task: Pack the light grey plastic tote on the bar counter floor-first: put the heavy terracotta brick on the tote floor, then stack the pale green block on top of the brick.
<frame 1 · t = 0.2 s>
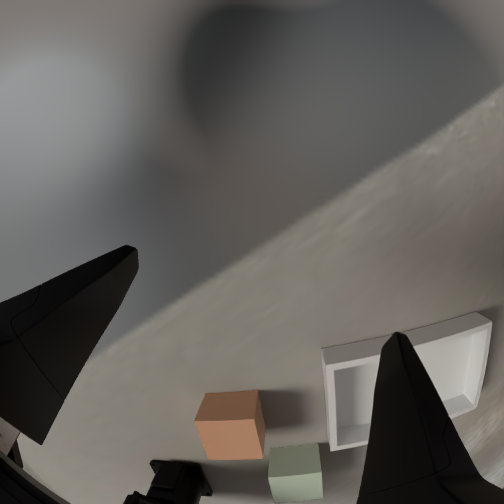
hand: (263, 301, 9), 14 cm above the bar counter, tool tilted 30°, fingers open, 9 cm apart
tote: (405, 377, 24), on the bar counter
brick: (236, 411, 26), on the bar counter
pale green block: (295, 459, 27), on the bar counter
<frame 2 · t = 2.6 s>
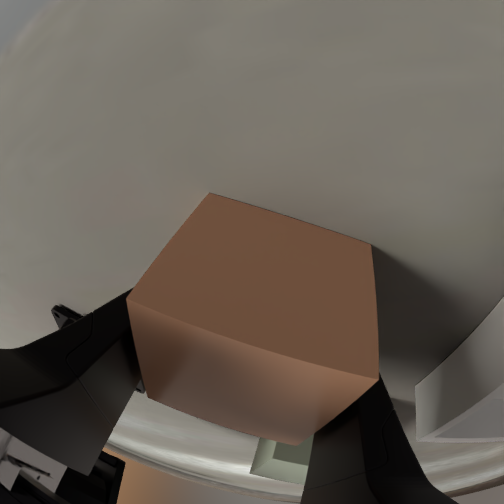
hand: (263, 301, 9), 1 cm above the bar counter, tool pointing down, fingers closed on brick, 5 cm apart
brick: (270, 278, 10), on the bar counter, touching gripper
pale green block: (321, 403, 15), on the bar counter
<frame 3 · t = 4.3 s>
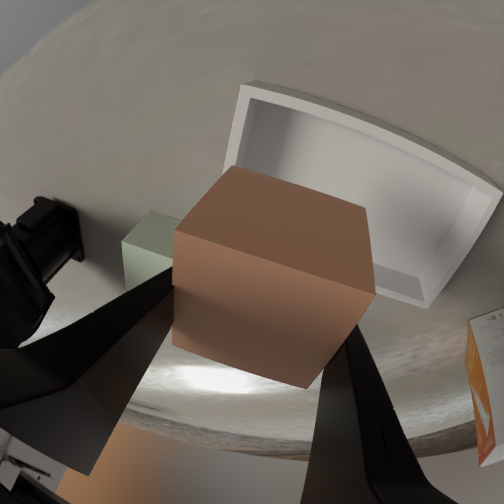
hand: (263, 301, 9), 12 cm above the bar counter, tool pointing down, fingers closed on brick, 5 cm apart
tote: (356, 192, 18), on the bar counter
brick: (281, 241, 12), point 8 cm above the bar counter, touching gripper
small box: (491, 333, 23), on the bar counter
pale green block: (177, 243, 25), on the bar counter
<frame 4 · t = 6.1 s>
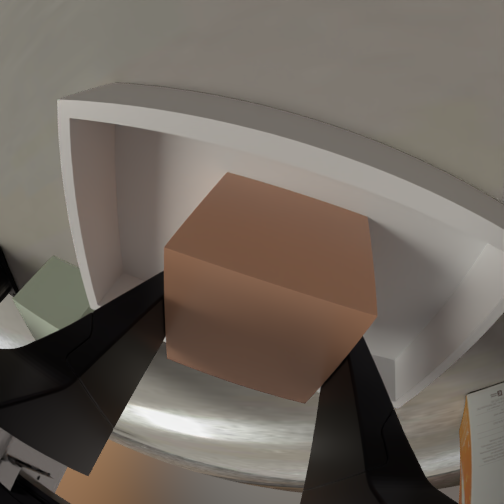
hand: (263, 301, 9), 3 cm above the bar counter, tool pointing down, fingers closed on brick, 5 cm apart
tote: (285, 244, 12), on the bar counter
brick: (279, 250, 11), resting on tote, touching gripper
small box: (494, 401, 16), on the bar counter
pale green block: (86, 293, 18), on the bar counter
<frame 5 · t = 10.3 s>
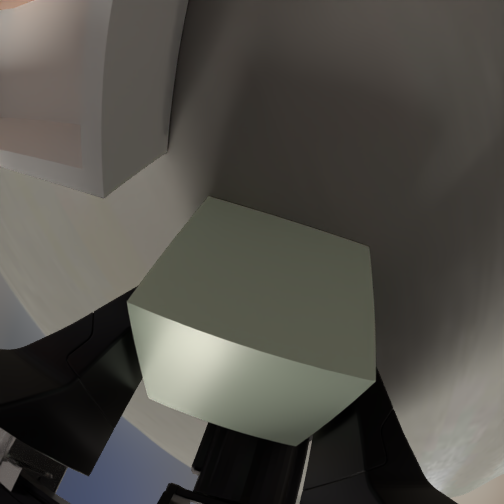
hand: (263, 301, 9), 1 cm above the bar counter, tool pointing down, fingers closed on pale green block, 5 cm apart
pale green block: (270, 280, 10), on the bar counter, touching gripper
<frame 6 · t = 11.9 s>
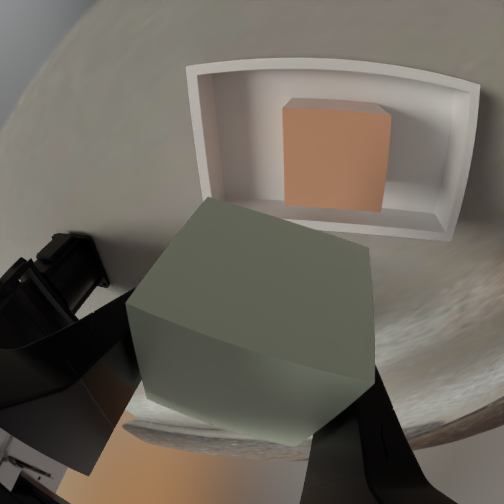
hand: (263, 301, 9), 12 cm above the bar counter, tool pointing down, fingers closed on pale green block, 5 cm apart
tote: (335, 137, 17), on the bar counter
brick: (333, 139, 17), resting on tote
pale green block: (269, 281, 10), point 11 cm above the bar counter, touching gripper
when the fingers open (7 cm above the bar counter, at t = 13.5 s): pale green block stays where it is, resting on brick.
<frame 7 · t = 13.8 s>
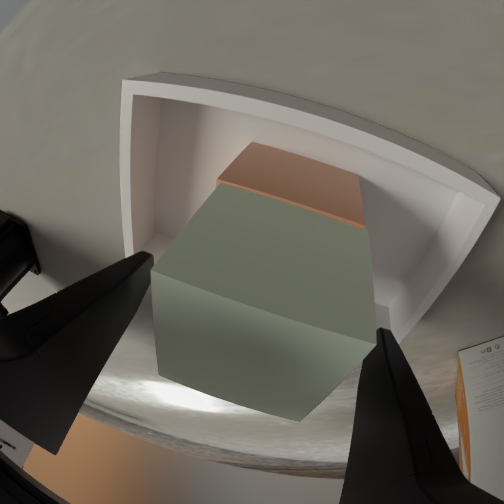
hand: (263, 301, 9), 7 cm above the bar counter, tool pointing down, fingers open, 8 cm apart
tote: (295, 200, 15), on the bar counter
brick: (291, 203, 14), resting on tote, touching pale green block
small box: (486, 363, 18), on the bar counter
pale green block: (275, 263, 11), point 5 cm above the bar counter, touching brick
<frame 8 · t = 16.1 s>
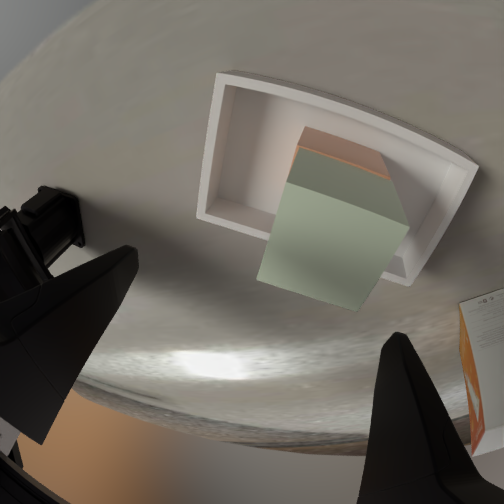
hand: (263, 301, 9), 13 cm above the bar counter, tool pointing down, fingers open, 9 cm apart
tote: (333, 171, 19), on the bar counter
brick: (331, 172, 19), resting on tote, touching pale green block
small box: (484, 318, 23), on the bar counter
pale green block: (331, 205, 16), point 5 cm above the bar counter, touching brick
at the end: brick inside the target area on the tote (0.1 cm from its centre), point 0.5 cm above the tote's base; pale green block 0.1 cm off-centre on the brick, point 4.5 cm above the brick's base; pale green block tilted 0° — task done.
